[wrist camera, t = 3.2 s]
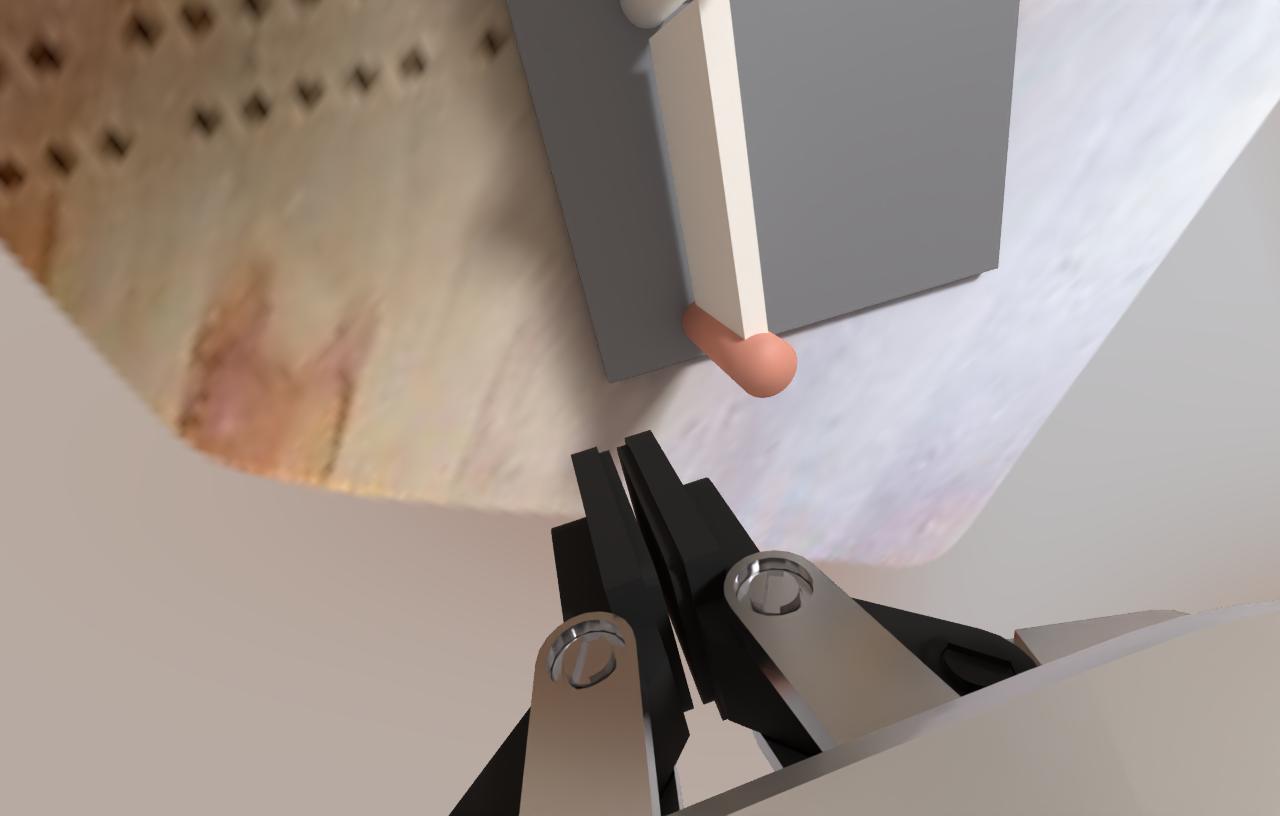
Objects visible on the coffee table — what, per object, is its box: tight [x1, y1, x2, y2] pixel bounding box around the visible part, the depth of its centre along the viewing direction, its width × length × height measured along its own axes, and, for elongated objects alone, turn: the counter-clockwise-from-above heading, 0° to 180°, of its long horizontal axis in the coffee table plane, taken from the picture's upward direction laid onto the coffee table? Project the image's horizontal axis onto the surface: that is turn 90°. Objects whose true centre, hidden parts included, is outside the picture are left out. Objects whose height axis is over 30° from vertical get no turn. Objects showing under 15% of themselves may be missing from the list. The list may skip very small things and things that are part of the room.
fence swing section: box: [649, 0, 797, 398], centre depth 18 cm, size 11×2×6 cm, turn 14°
